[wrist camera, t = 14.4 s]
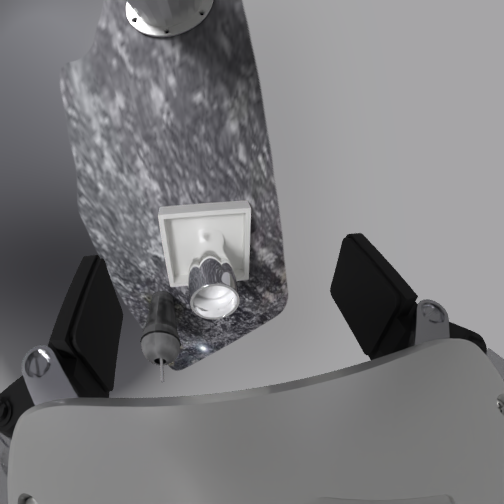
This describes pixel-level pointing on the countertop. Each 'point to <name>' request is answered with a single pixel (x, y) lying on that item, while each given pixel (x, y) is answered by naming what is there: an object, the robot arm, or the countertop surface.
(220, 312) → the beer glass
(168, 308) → the beverage cup
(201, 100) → the countertop surface
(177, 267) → the tray
